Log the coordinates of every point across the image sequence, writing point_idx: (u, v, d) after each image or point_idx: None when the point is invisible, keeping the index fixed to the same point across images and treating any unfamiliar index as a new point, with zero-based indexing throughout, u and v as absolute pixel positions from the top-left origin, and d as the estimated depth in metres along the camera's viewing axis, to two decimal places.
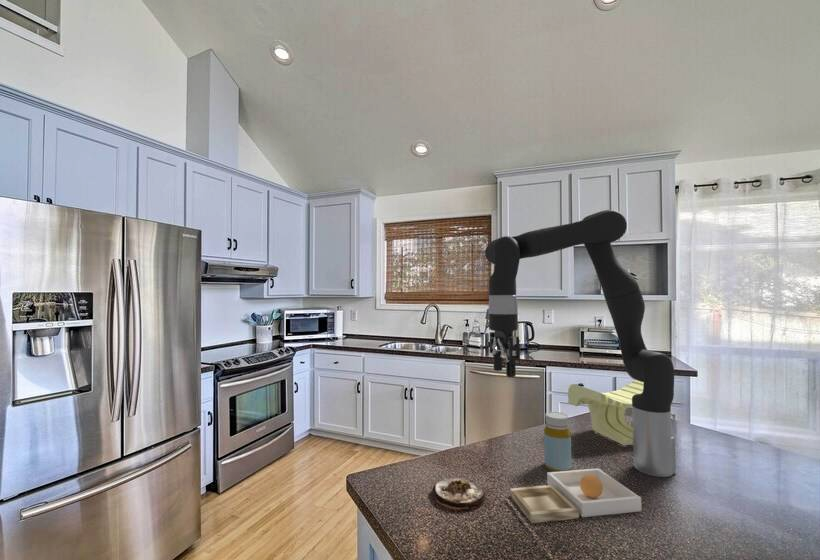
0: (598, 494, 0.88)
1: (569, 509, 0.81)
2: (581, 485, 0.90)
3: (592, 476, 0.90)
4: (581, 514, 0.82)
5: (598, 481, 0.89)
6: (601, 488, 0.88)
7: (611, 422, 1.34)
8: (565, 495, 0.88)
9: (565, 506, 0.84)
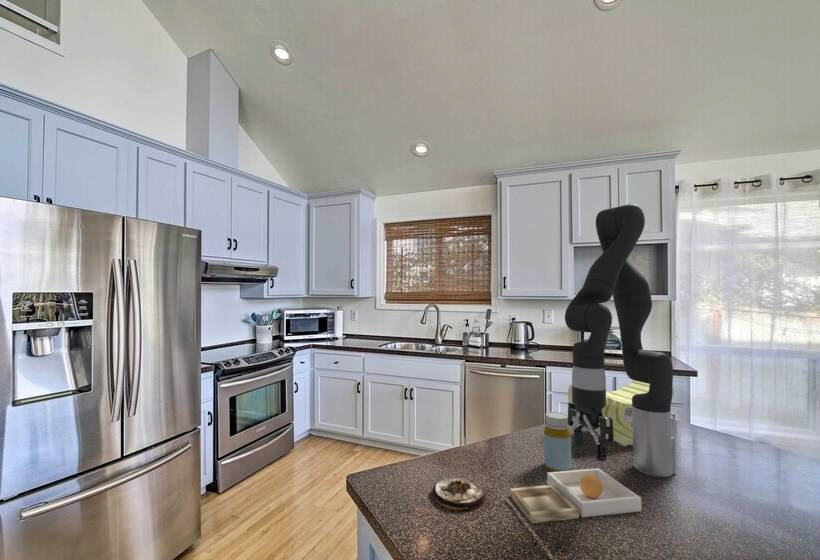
0: (598, 494, 0.88)
1: (569, 509, 0.81)
2: (581, 485, 0.90)
3: (592, 476, 0.90)
4: (581, 514, 0.82)
5: (598, 481, 0.89)
6: (601, 488, 0.88)
7: None
8: (565, 495, 0.88)
9: (565, 506, 0.84)
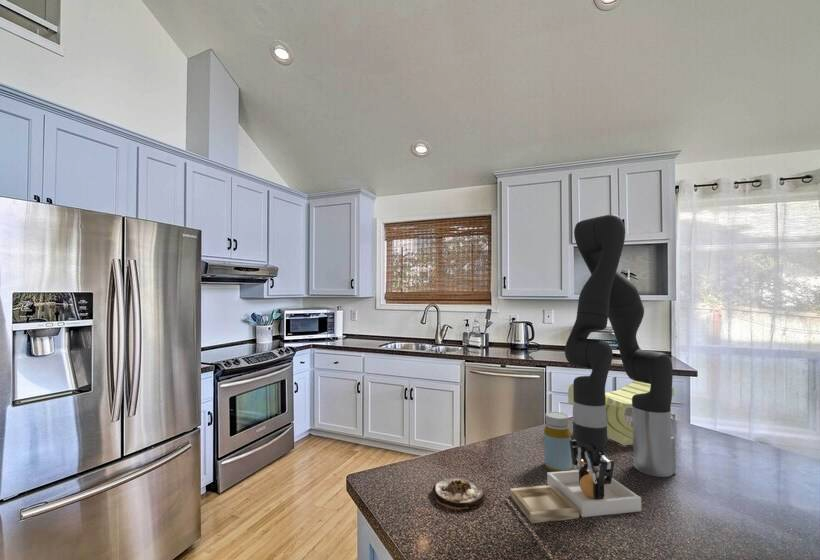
0: None
1: (569, 509, 0.81)
2: (581, 485, 0.90)
3: None
4: (581, 514, 0.82)
5: None
6: None
7: (611, 422, 1.34)
8: (565, 495, 0.88)
9: (565, 506, 0.84)
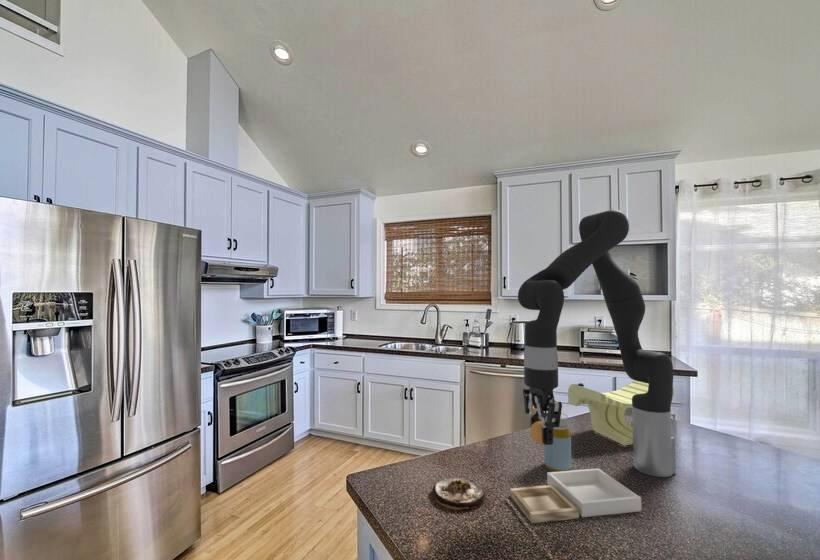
0: None
1: (569, 509, 0.81)
2: (531, 431, 0.86)
3: None
4: (581, 514, 0.82)
5: None
6: None
7: (611, 422, 1.34)
8: (565, 495, 0.88)
9: (565, 506, 0.84)
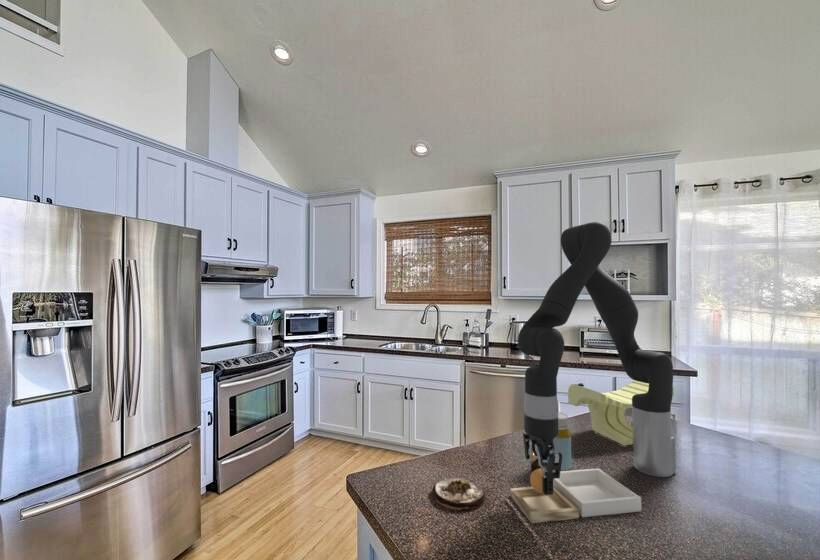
0: None
1: (569, 509, 0.81)
2: (531, 480, 0.86)
3: None
4: (581, 514, 0.82)
5: None
6: None
7: (611, 422, 1.34)
8: (565, 495, 0.88)
9: (565, 506, 0.84)
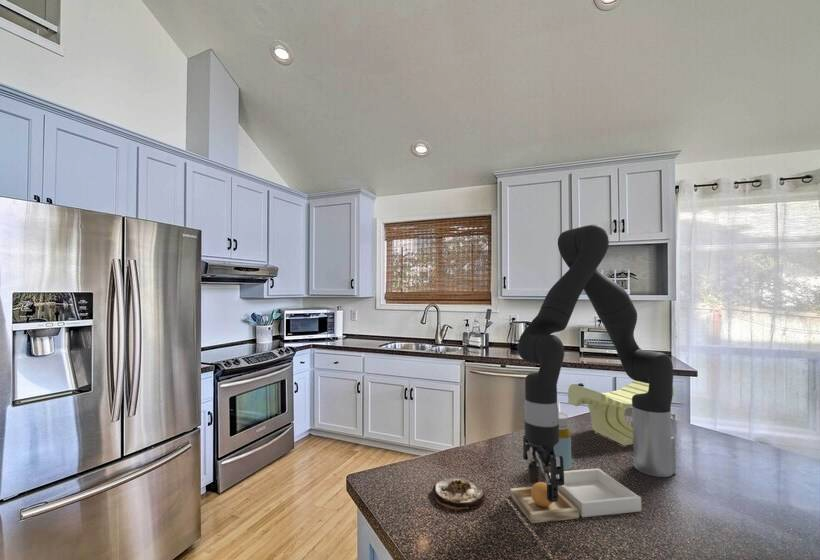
0: (548, 503, 0.83)
1: (569, 509, 0.81)
2: (532, 493, 0.85)
3: (543, 484, 0.86)
4: (581, 514, 0.82)
5: None
6: None
7: (611, 422, 1.34)
8: (565, 495, 0.88)
9: (565, 506, 0.84)
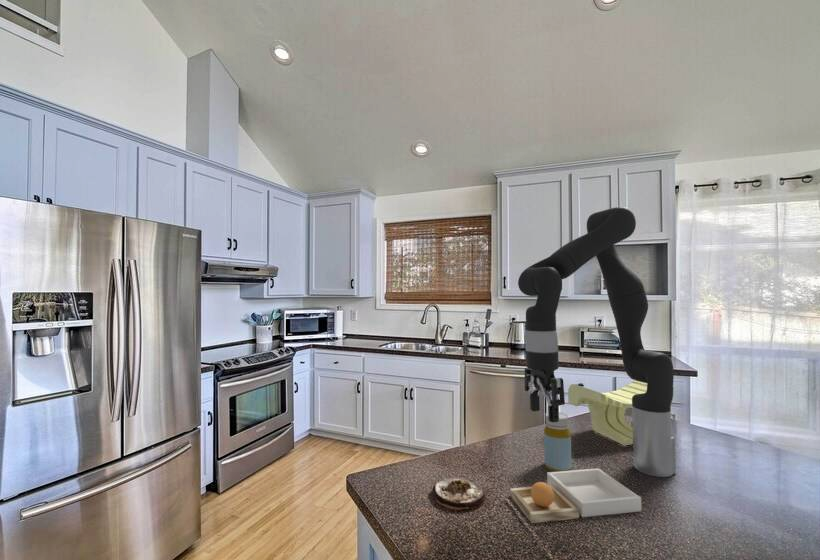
0: (548, 503, 0.83)
1: (569, 509, 0.81)
2: (532, 493, 0.85)
3: (543, 484, 0.86)
4: (581, 514, 0.82)
5: (549, 489, 0.84)
6: (552, 497, 0.84)
7: (611, 422, 1.34)
8: (565, 495, 0.88)
9: (565, 506, 0.84)
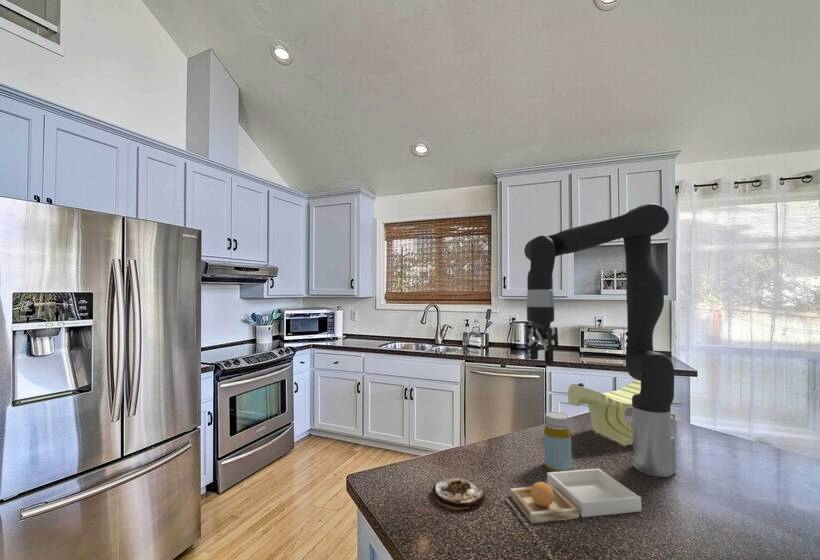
0: (548, 503, 0.83)
1: (569, 509, 0.81)
2: (532, 493, 0.86)
3: (543, 483, 0.86)
4: (581, 514, 0.82)
5: (549, 489, 0.85)
6: (552, 496, 0.84)
7: (611, 422, 1.34)
8: (565, 495, 0.88)
9: (565, 506, 0.84)
